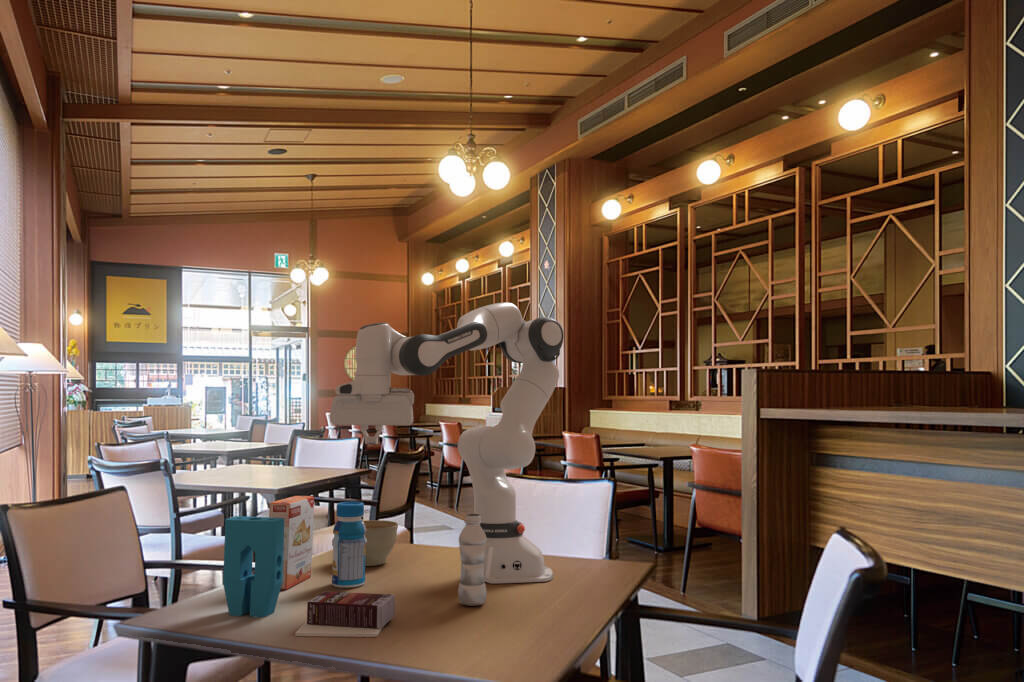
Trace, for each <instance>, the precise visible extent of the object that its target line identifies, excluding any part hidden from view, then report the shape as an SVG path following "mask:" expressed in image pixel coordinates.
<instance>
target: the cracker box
mask: <svg viewBox="0 0 1024 682" xmlns="http://www.w3.org/2000/svg"><path fill="white" fill-rule="evenodd" d="M268 511H269V512H268V513H269V514H268V517H272V518H284V551H283V582H282V585H281V589H280V591H281V590H282V591H283V590H285V591H286V590H288V589H290V588H292V587H294V586H297V584H300V583H302V582H304V581H306V580H307V579H310V578H311V577H312V562H313V561H312V560H313V543H314V541H313V538H314V536H313V535H314V517H315V516H314V514H315V496H312V495H293V496H289V497H286V498H282V499H279V500H275V501H270V502H269V510H268Z"/></svg>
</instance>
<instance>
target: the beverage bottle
mask: <svg viewBox="0 0 1024 682" xmlns="http://www.w3.org/2000/svg"><path fill="white" fill-rule="evenodd" d="M364 504H365V503H364V502H361V501H343V502H338V503H337V504H336V510H335V511H336V512H335V513H336V518H338V519H337V521H336V523H335V525H334V526H333V529H332V533H333V538H332V541H331V542H332V543H331V545H332V575H331V577H332V578H331V585H332V586H333V587H335V588H340V589H353V588H358V587H362V586H363V585H364V584H365V583H366V566H365V553H366V544H367V539H366V537H365V533H366V526H365V524H364V522H363V521H364V520H363V519H362V518H363V517H364V515H365V514H364V513H365V505H364Z"/></svg>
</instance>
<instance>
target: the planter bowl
mask: <svg viewBox="0 0 1024 682" xmlns="http://www.w3.org/2000/svg"><path fill="white" fill-rule="evenodd" d="M363 522H364V524H365V526H366V533H365V537H366V539H367V544H366V553H365V567H372V566H381V565H383V564H386V561H387V557H388V556H389V554H391V552H392V550H393V548H394V546H395V543H396V541H397V540H396V539H397V536H398V528H399V523H398V522H396V521H393V520H392V521H391V520H385V519H384V520H381V519H379V520H376V519H375V520H373V519H371V520H363Z"/></svg>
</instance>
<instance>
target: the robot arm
mask: <svg viewBox="0 0 1024 682" xmlns="http://www.w3.org/2000/svg"><path fill="white" fill-rule="evenodd" d="M355 340H356V342H355V352H354V353H355V354H354V355H355V356H354V357H355V358H354V360H355V363H356V368H355V373H354V380H352V381H347V382H346V383H342V384H339V385H337V386H335V390H334V391H335V392H334V393H335V394H336V395H335V396H334V397H333V398H332V401H331V405H330V406H331V407H330V413H329V422H330V423H331V425H332V426H360V431H361V433H362V434H363V437H364V444H365V445H378V444H379V436H380V435H381V433H382V432H383V430H384V429H383V428H384V426H411V425H412V424H413V423H414V409H413V405H414V403H415V393H414V392H413V391H412V390H411V389H409V387H403V388H402V387H401V388H399V387H392V386H391V385H392V383H391V382H392V380H391V379H392V376H391V375H392V374H394V375H398V376H421V377H423V376H429V375H431V374H434V373H435V372H436V371H437V370H438V369H439V368H440V367H441V366H442V365H443V364H444V363H445V362H446V361H447V360H449V359H451V358H452V357H455V356H458V355H459V354H460V355H461V354H462V353H464V352H467V351H471V352H472V351H477V350H483V349H486V348H487V349H488V348H490V347H493V346H495V345H499V347H500V351H501V352H502V354H503V356H504V357H505V358H506V360H508V361H510V362H512V363H515V364H522V365H521V369H520V373H519V374H518V375H517V376H516V378H515V380H513V382H512V384H511V385H510V387H509V388H508V390H507V392H506V393H505V394H504V396H503V398H501V400H500V406H499V407H500V411H501V413H502V415H501V418H500V421H499V422H498V423H497V424H496V425H495V426H491V425H477V426H473V427H470V428H468V429H465V430H464V431H463V432H462V433H461V434H460V436H459V438H458V441H457V451H458V454H459V457H460V458H461V459H462V460H463V461H464V463H465V464H466V467H467V469H468V473H469V476H470V480H471V484H472V488H473V490H472V491H473V514H480V515H481V523H480V526H481V528H482V529H483V531H484V532H485V534H486V538H487V540H486V548H485V557H484V576H485V582H486V583H488V584H514V583H515V584H516V583H517V584H518V583H540V582H541V583H542V582H549V581H550V580H552V579H553V577H554V574H553V573H554V572H553V570H552V568H550V567H549V566H546V564H545V563H546V562H545V559H544V555H543V552H542V551H541V549H540V548H539V547H538V546H537V545H536V544H534V543H533V542H532V541H531V540H529V539H528V538H527V537H526V536H524V535H523V534H524V532H525V530H526V528H525V525H524V524H523V523H522V522H521V521H519V520H517V519H516V516H517V514H516V512H517V511H516V510H517V509H516V508H517V507H516V505H517V504H516V501H517V499H516V497H517V493H516V490H515V488H514V486H513V485H512V484H511V483H510V481H509V479H508V477H507V475H506V470H517V469H521V468H525V467H527V466H529V465H530V464H531V463H532V462H533V460H534V458H535V454H536V442H535V440H534V438H533V432H534V428H535V425H536V423H537V421H538V419H539V417H540V416H541V413H543V411H544V409H545V407H546V405H547V403H548V402H549V401H550V399H551V397H552V395H553V393H554V390H555V389H556V386H557V384H558V381H559V379H560V370H559V367H558V366H557V365H556V363H554V361H556V360H557V359H558V358H559V356H560V354H561V348H562V346H563V343H564V329H563V327H562V325H561V324H560V322H558V320H556V319H555V318H554V317H553V318H552V317H548V316H547V317H546V316H542V317H537V318H535V319H531V320H528V321H526V320H525V319H524V318H523V316H522V313H521V311H520V309H519V307H518V306H517V305H515V304H514V303H512V302H509V301H508V302H507V301H505V302H496V303H492V304H488V305H485V306H481V307H477V308H476V309H473V310H470V311H468V312H467V313H465V314H464V315H462V316H460V317H459V319H458V320H457V325H456V328H453V329H451V330H449V331H447V332H443V333H440V334H438V335H433V334H428V333H427V334H425V333H422V334H417V335H414V336H408V337H407V336H406V335H403V334H401V333H399V331H396V329H394V328H393V327H391V326H390V324H389V323H388V322H375V323H370V324H365V325H362V326H361V327H360V328H359V329H358V330H357V335H356V339H355ZM369 426H375V430H376V432H375V434H374V436H369V433H368V432H367V430H369Z"/></svg>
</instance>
